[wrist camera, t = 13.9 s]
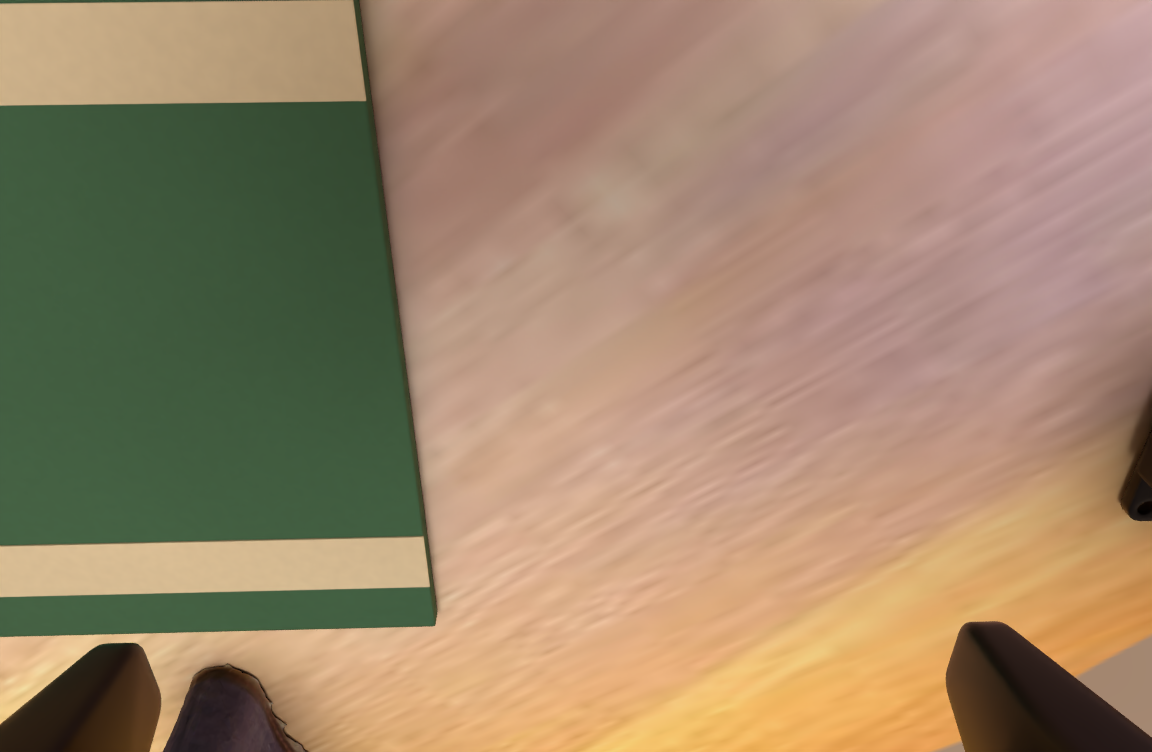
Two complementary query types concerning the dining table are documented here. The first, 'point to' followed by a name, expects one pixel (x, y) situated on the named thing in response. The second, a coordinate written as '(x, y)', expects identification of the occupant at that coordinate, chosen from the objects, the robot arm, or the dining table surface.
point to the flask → (228, 716)
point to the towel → (199, 326)
